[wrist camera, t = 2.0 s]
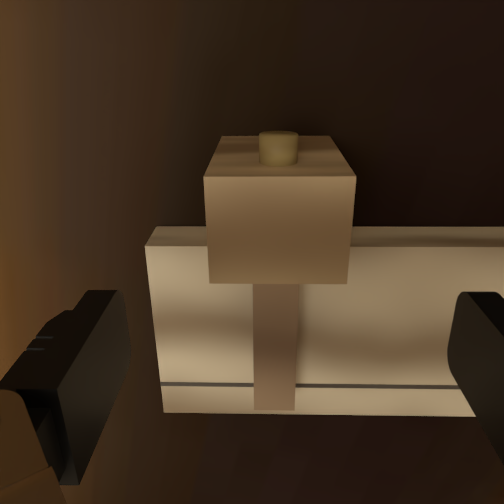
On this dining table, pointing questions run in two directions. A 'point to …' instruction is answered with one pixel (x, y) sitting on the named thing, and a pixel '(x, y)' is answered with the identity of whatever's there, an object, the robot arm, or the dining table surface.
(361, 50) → the dining table surface
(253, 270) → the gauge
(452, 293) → the board
